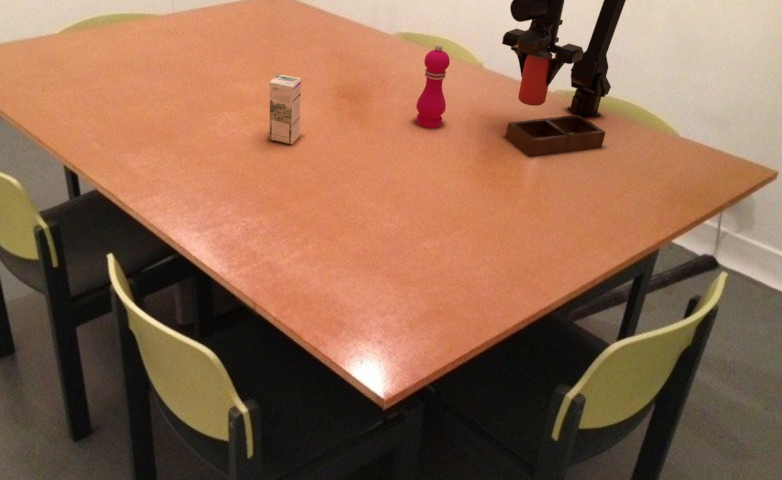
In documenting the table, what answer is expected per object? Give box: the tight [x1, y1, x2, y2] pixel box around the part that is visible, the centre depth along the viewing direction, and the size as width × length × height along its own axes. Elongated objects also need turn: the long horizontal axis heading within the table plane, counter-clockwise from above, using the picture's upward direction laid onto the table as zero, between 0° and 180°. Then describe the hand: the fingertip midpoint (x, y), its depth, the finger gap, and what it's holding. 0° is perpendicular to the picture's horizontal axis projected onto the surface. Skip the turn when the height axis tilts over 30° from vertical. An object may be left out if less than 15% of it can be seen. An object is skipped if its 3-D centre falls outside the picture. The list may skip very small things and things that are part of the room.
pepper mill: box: [416, 43, 451, 129], centre depth 188 cm, size 7×7×20 cm
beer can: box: [517, 51, 554, 107], centre depth 186 cm, size 7×7×12 cm
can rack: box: [505, 114, 607, 157], centre depth 187 cm, size 21×11×4 cm, turn 111°
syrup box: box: [269, 73, 302, 145], centre depth 177 cm, size 6×6×14 cm
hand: (535, 80), depth 186 cm, fingers closed on beer can, 6 cm apart
